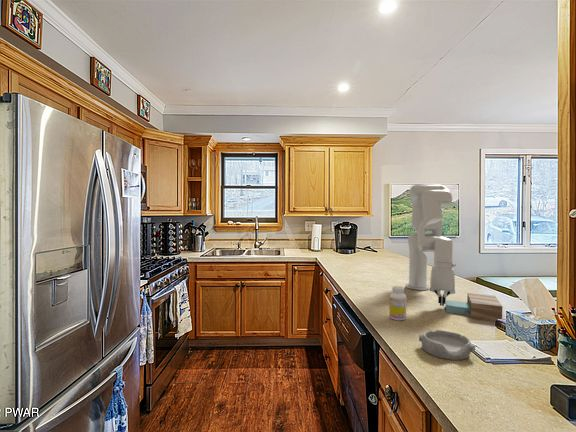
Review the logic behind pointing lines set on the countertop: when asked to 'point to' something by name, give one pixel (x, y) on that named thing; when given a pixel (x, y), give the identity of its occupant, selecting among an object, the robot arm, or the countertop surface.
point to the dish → (446, 344)
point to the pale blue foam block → (457, 307)
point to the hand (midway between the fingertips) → (441, 305)
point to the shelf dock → (484, 307)
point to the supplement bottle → (397, 304)
